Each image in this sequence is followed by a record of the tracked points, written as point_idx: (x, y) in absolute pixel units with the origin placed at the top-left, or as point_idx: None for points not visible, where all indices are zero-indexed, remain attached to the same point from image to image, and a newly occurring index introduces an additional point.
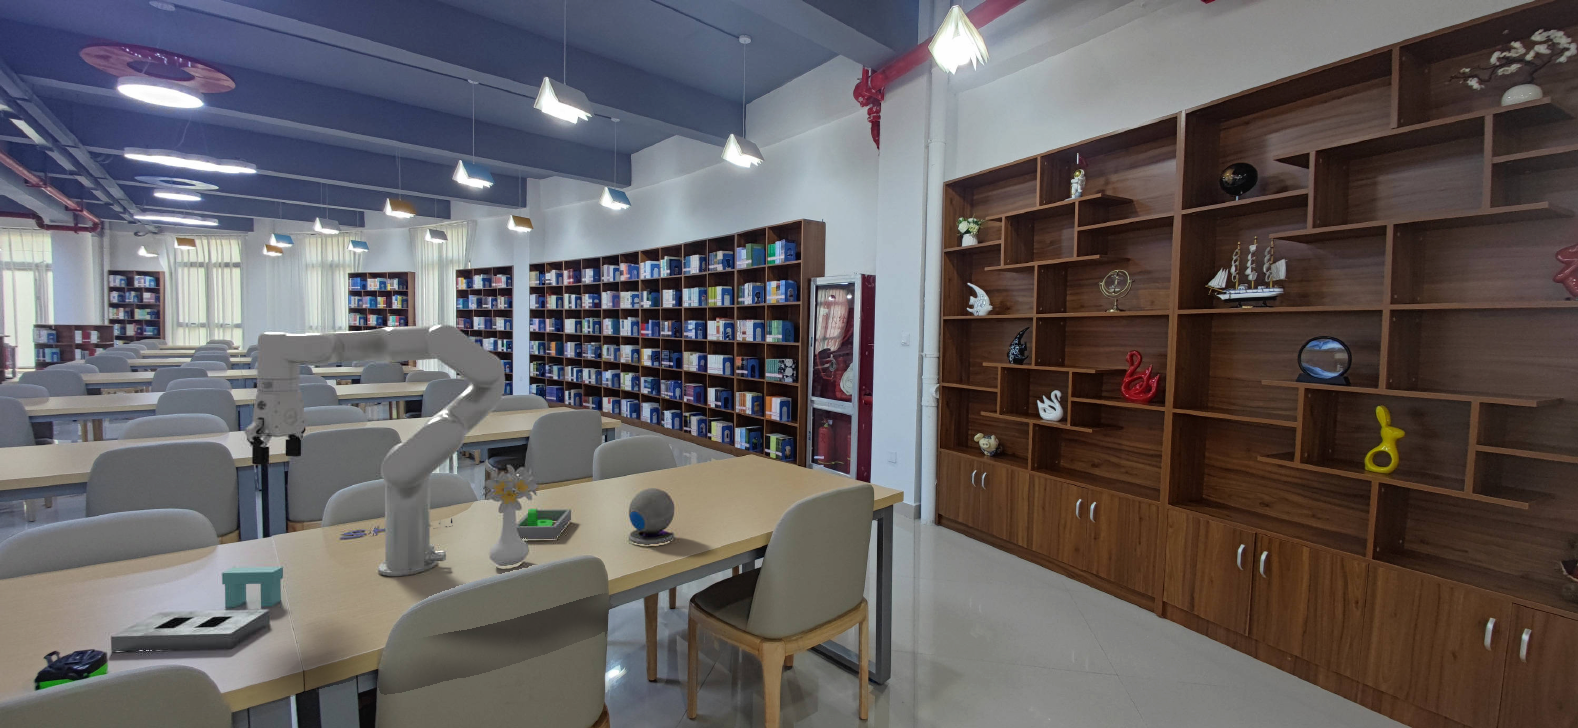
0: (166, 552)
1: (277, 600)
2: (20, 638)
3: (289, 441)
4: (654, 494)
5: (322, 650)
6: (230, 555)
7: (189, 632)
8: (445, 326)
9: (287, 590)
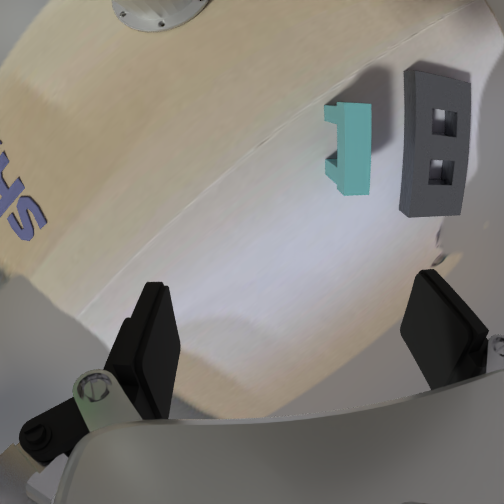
0: None
1: (333, 105)
2: (395, 319)
3: (160, 405)
4: None
5: None
6: None
7: (466, 133)
8: None
9: (281, 123)
